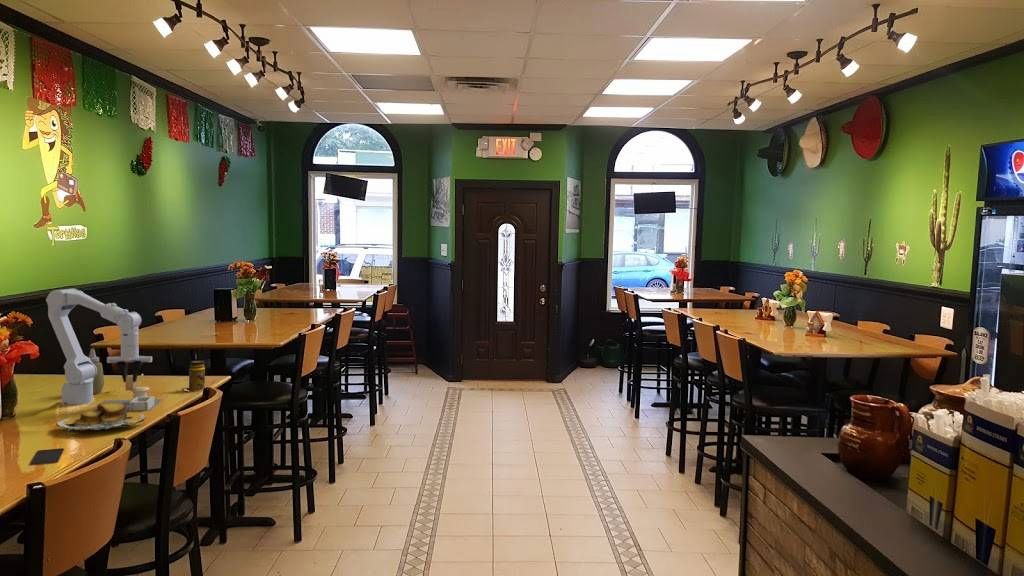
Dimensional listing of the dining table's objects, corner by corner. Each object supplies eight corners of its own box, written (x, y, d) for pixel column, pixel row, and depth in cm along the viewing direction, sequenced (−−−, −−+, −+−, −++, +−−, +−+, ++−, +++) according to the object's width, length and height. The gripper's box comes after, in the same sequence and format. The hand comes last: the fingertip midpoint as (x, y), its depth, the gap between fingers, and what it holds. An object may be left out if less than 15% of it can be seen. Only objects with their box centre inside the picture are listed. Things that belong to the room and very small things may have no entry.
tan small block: (125, 390, 242) (125, 377, 242) (128, 388, 246) (128, 375, 246) (133, 390, 243) (133, 376, 243) (136, 388, 247) (136, 375, 247)
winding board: (88, 416, 232) (88, 398, 231) (104, 404, 248) (104, 387, 248) (150, 414, 237) (150, 396, 236) (162, 402, 253) (162, 386, 253)
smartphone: (65, 447, 198) (58, 462, 185) (65, 449, 198) (58, 464, 185) (36, 450, 194) (27, 465, 182) (36, 452, 194) (27, 467, 182)
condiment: (206, 390, 276) (207, 362, 275) (184, 392, 271) (184, 363, 270) (204, 386, 282) (204, 359, 281) (182, 388, 277) (182, 360, 276)
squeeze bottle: (106, 390, 269) (106, 347, 268) (101, 395, 261) (101, 350, 260) (84, 391, 266) (83, 347, 265) (77, 395, 259) (77, 350, 257)
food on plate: (37, 433, 211) (37, 413, 211) (97, 414, 236) (97, 396, 235) (107, 440, 207) (107, 419, 207) (161, 419, 232) (161, 401, 231)
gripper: (104, 347, 237) (104, 384, 238) (148, 346, 241) (148, 383, 242) (110, 344, 243) (110, 380, 244) (153, 343, 247) (153, 379, 248)
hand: (130, 381), depth 243 cm, fingers closed on tan small block, 2 cm apart
